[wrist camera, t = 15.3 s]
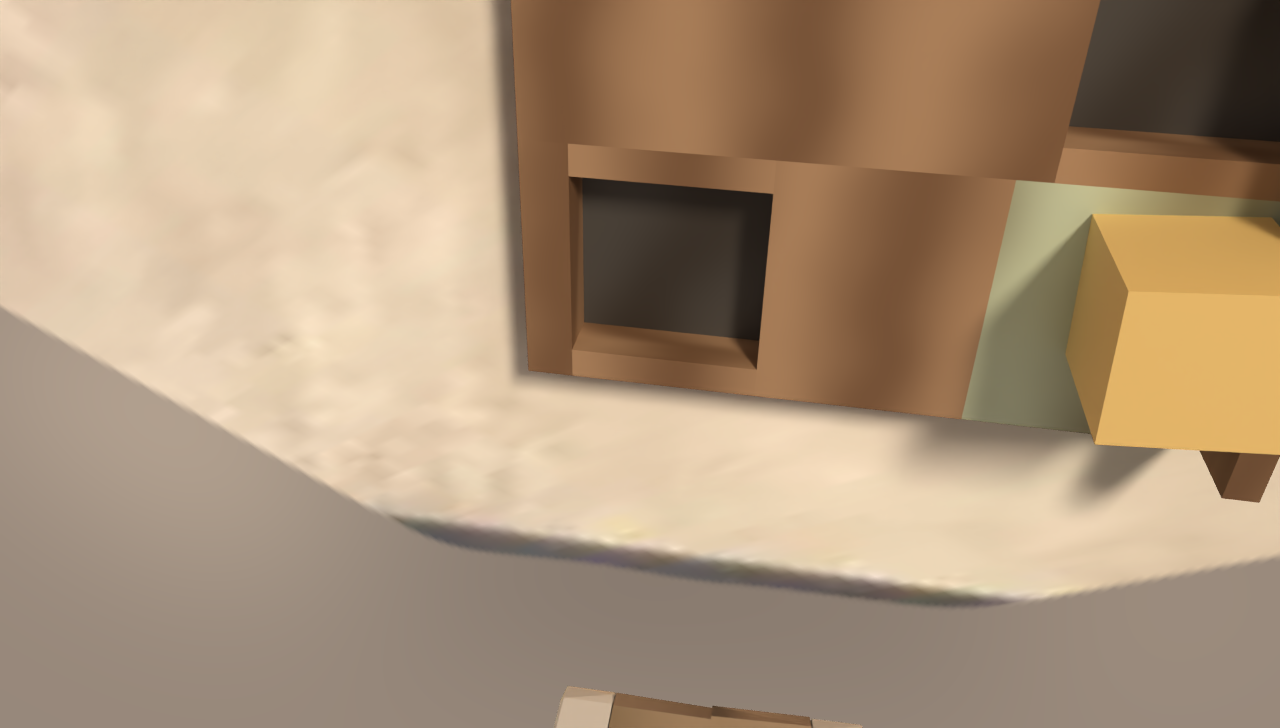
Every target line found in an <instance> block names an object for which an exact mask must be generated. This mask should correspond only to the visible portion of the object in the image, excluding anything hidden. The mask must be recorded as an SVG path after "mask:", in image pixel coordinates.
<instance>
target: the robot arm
mask: <svg viewBox="0 0 1280 728" xmlns="http://www.w3.org/2000/svg"><path fill="white" fill-rule="evenodd" d="M554 728H863V727H862V726H861V725H858V724H850V723H842V722H833V721H826V720H817V719H812V720H811V721H810V718H809V717H804V716H796V715H787V714H779V713H769V712H761V711H753V710H744V709H735V708H727V707H718V706H713V707H712V708H709V707H703V706H697V705H690V704H683V703H678V702H671V701H665V700H659V699H652V698H646V697H640V696H634V695H627V694H621V693H615V692H608V691H600V690H593V689H586V688H579V687H571V686H567V688H566V690H565V692H564V694H563V696H562V698H561V700H560V704H559V708H558V712H557V716H556V720H555V724H554Z"/></svg>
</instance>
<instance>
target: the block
mask: <svg viewBox="0 0 1280 728" xmlns="http://www.w3.org/2000/svg"><path fill="white" fill-rule="evenodd" d="M1065 355H1066V358H1067V361H1068V364H1069V367H1070V370H1071V373H1072V376H1073V379H1074V383H1075V386H1076V389H1077V392H1078V395H1079V398H1080V401H1081V404H1082V407H1083V410H1084V413H1085V416H1086V419H1087V422H1088V425H1089V429H1090V432H1091V435H1092V438H1093V441H1094V444H1096V445H1114V446H1131V447H1149V448H1167V449H1184V450H1202V451H1220V452H1238V453H1255V454H1273V455H1280V227H1279V225H1278V224H1277V223H1276V222H1275V221H1274V219H1273V218H1272V217H1229V216H1178V215H1127V214H1092V218H1091V223H1090V228H1089V233H1088V239H1087V244H1086V249H1085V254H1084V259H1083V265H1082V270H1081V275H1080V280H1079V285H1078V291H1077V296H1076V301H1075V306H1074V311H1073V317H1072V322H1071V327H1070V332H1069V337H1068V343H1067V348H1066V353H1065Z"/></svg>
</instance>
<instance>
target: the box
mask: <svg viewBox="0 0 1280 728" xmlns="http://www.w3.org/2000/svg"><path fill="white" fill-rule="evenodd" d="M511 15H512V36H513V57H514V78H515V99H516V120H517V141H518V161H519V182H520V203H521V224H522V245H523V266H524V287H525V308H526V329H527V350H528V370H529V371H537V372H546V373H555V374H564V375H573V376H581V377H590V378H599V379H608V380H617V381H626V382H635V383H644V384H653V385H661V386H670V387H679V388H688V389H697V390H706V391H715V392H724V393H733V394H741V395H750V396H759V397H768V398H777V399H786V400H795V401H804V402H813V403H821V404H830V405H839V406H848V407H857V408H866V409H875V410H884V411H893V412H901V413H910V414H919V415H928V416H937V417H946V418H955V419H964V420H973V421H981V422H990V423H999V424H1008V425H1017V426H1026V427H1035V428H1044V429H1053V430H1061V431H1070V432H1079V433H1088V434H1091V432H1090V429H1089V425H1088V422H1087V419H1086V416H1085V413H1084V410H1083V407H1082V404H1081V401H1080V398H1079V395H1078V392H1077V389H1076V386H1075V383H1074V379H1073V376H1072V373H1071V370H1070V367H1069V364H1068V361H1067V358H1066V355H1065V353H1066V348H1067V343H1068V337H1069V332H1070V327H1071V322H1072V317H1073V311H1074V306H1075V301H1076V296H1077V291H1078V285H1079V280H1080V275H1081V270H1082V265H1083V259H1084V254H1085V249H1086V244H1087V239H1088V233H1089V228H1090V223H1091V218H1092V214H1127V215H1178V216H1229V217H1272V218H1273V219H1274V221H1275V222H1276V223H1277V224H1278V225H1279V227H1280V0H511ZM1200 452H1201V455H1202V457H1203V459H1204V461H1205V463H1206V465H1207V467H1208V470H1209V472H1210V474H1211V476H1212V478H1213V480H1214V483H1215V485H1216V487H1217V489H1218V491H1219V493H1220V495H1221V498H1225V499H1234V500H1242V501H1251V502H1260V500H1261V497H1262V495H1263V493H1264V491H1265V488H1266V486H1267V484H1268V482H1269V479H1270V477H1271V475H1272V473H1273V470H1274V468H1275V466H1276V464H1277V461H1278V459H1279V457H1280V455H1273V454H1255V453H1238V452H1220V451H1202V450H1200Z"/></svg>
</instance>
